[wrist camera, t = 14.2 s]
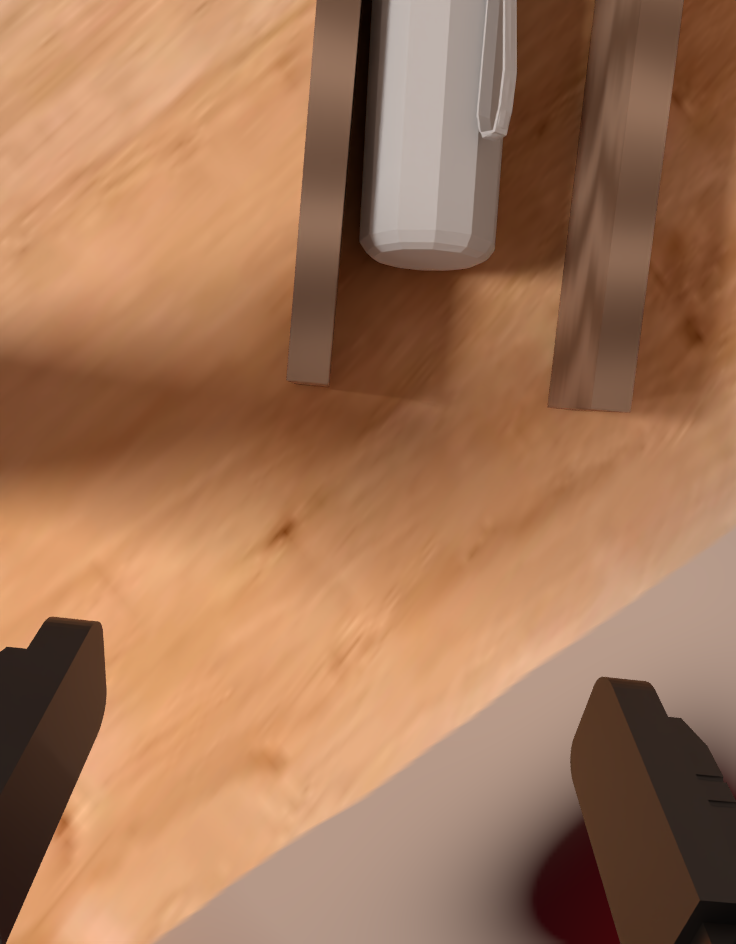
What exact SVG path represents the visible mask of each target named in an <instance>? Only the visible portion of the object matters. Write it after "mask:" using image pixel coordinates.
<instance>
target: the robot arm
mask: <svg viewBox="0 0 736 944" xmlns="http://www.w3.org/2000/svg"><path fill="white" fill-rule="evenodd" d="M105 705H106V674H105V658H104V641H103V629H102V625H101V623H100V622H97V621H87V620H78V619H68V618H59V617H49V618H48V619H47V620H46V621H45V622H44V623H43V625H42V626H41V628H40V629H39V631H38V632H37V634H36V636H35V637H34V639H33V640H32V642H31V643H30V645H29V647H28V648H27V649H23V648H13V647H6V648H5V649H4V650H2V651H1V652H0V944H6V942H7V939H8V937H9V935H10V933H11V930H12V928H13V926H14V924H15V921H16V919H17V917H18V914H19V912H20V910H21V908H22V905H23V903H24V901H25V898H26V896H27V894H28V892H29V889H30V887H31V885H32V883H33V880H34V878H35V876H36V873H37V871H38V869H39V867H40V864H41V862H42V860H43V857H44V855H45V853H46V851H47V848H48V846H49V844H50V842H51V839H52V837H53V835H54V832H55V830H56V828H57V826H58V823H59V821H60V819H61V816H62V814H63V812H64V810H65V807H66V805H67V803H68V801H69V798H70V796H71V794H72V791H73V789H74V787H75V785H76V782H77V780H78V778H79V775H80V773H81V771H82V769H83V766H84V764H85V762H86V760H87V757H88V755H89V753H90V750H91V748H92V746H93V744H94V741H95V739H96V737H97V734H98V732H99V729H100V726H101V723H102V719H103V715H104V711H105ZM570 763H571V774H572V779H573V783H574V787H575V790H576V794H577V797H578V800H579V804H580V807H581V810H582V814H583V817H584V821H585V824H586V828H587V831H588V834H589V838H590V841H591V845H592V848H593V851H594V855H595V858H596V862H597V865H598V868H599V872H600V875H601V879H602V882H603V885H604V889H605V892H606V895H607V899H608V902H609V906H610V909H611V912H612V916H613V919H614V923H615V926H616V929H617V933H618V936H619V940H620V943H621V944H736V800H735V798H734V796H733V794H732V792H731V791H730V789H729V787H728V785H727V783H724V782H723V775H722V773H721V771H720V769H719V768H718V766H717V764H716V762H715V760H714V758H713V756H712V754H711V752H710V750H709V748H708V747H707V745H706V744H705V743H704V742H703V741H702V740H701V739H700V738H699V737H698V736H697V735H696V734H695V733H694V732H693V730H692V729H691V728H690V727H689V726H688V725H687V724H686V723H685V722H684V721H683V720H682V719H681V718H674V717H668V716H667V714H666V712H665V710H664V707H663V705H662V703H661V701H660V699H659V697H658V695H657V693H656V691H655V689H654V687H653V686H652V685H651V684H650V683H649V682H646V681H637V680H628V679H618V678H609V677H601V678H599V679H598V680H597V681H596V683H595V685H594V687H593V690H592V692H591V695H590V698H589V700H588V703H587V705H586V708H585V711H584V713H583V716H582V718H581V721H580V724H579V726H578V729H577V731H576V734H575V736H574V739H573V743H572V747H571V761H570Z"/></svg>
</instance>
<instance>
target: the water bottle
mask: <svg viewBox="0 0 736 944" xmlns="http://www.w3.org/2000/svg"><path fill="white" fill-rule="evenodd" d="M516 76H517V0H372V14H371V32H370V51H369V69H368V88H367V107H366V125H365V144H364V162H363V181H362V199H361V218H360V237H359V242H360V244H361V245H362V247H363V248H364V250H365V252H366V253H367V254H368V255H370V256H371V257H372V258H373V259H374V260H376V261H377V262H379V263H382V264H386V265H389V266H393V267H397V268H406V269H414V270H438V271H447V270H457V269H467V268H470V267H472V266H475V265H478V264H480V263H482V262H484V261H486V260H488V258H489V257H490V256H491V254H492V253H493V252H494V251H495V240H496V227H497V213H498V200H499V186H500V173H501V159H502V146H503V137H504V136H506V135H507V131H508V127H509V122H510V118H511V113H512V109H513V100H514V92H515V84H516Z"/></svg>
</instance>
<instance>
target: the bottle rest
mask: <svg viewBox="0 0 736 944" xmlns="http://www.w3.org/2000/svg"><path fill="white" fill-rule="evenodd" d="M683 2H684V0H595V7H594V16H593V24H592V33H591V41H590V50H589V58H588V67H587V75H586V84H585V92H584V101H583V109H582V118H581V126H580V135H579V144H578V152H577V161H576V169H575V178H574V186H573V195H572V203H571V212H570V220H569V229H568V237H567V246H566V254H565V263H564V271H563V280H562V288H561V297H560V305H559V314H558V322H557V331H556V339H555V348H554V357H553V365H552V374H551V382H550V391H549V399H548V407H550V408H561V409H572V410H584V411H607V412H631V405H632V397H633V389H634V381H635V374H636V366H637V358H638V350H639V343H640V335H641V327H642V319H643V312H644V304H645V296H646V289H647V281H648V273H649V265H650V258H651V250H652V242H653V234H654V227H655V219H656V211H657V204H658V196H659V188H660V180H661V173H662V165H663V157H664V149H665V142H666V134H667V126H668V118H669V111H670V103H671V95H672V88H673V80H674V72H675V64H676V57H677V49H678V41H679V33H680V26H681V18H682V10H683ZM361 8H362V0H317V4H316V17H315V29H314V42H313V54H312V67H311V79H310V92H309V104H308V117H307V130H306V142H305V155H304V167H303V180H302V192H301V205H300V217H299V230H298V242H297V255H296V267H295V280H294V293H293V305H292V318H291V330H290V343H289V355H288V368H287V381H290V382H292V383H294V384H304V385H315V386H326V387H329V381H330V369H331V358H332V346H333V334H334V323H335V311H336V299H337V288H338V276H339V265H340V253H341V241H342V230H343V218H344V206H345V195H346V183H347V171H348V160H349V148H350V136H351V125H352V113H353V101H354V90H355V78H356V67H357V55H358V43H359V32H360V20H361Z"/></svg>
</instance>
